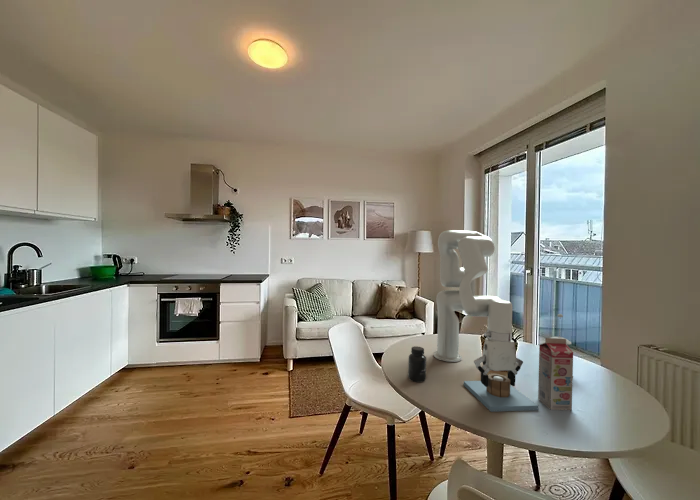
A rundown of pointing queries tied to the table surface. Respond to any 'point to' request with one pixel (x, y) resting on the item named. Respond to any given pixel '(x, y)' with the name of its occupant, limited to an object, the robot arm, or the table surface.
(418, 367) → the supplement bottle
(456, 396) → the table surface
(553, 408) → the juice carton
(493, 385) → the walnut ring
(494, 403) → the post board
